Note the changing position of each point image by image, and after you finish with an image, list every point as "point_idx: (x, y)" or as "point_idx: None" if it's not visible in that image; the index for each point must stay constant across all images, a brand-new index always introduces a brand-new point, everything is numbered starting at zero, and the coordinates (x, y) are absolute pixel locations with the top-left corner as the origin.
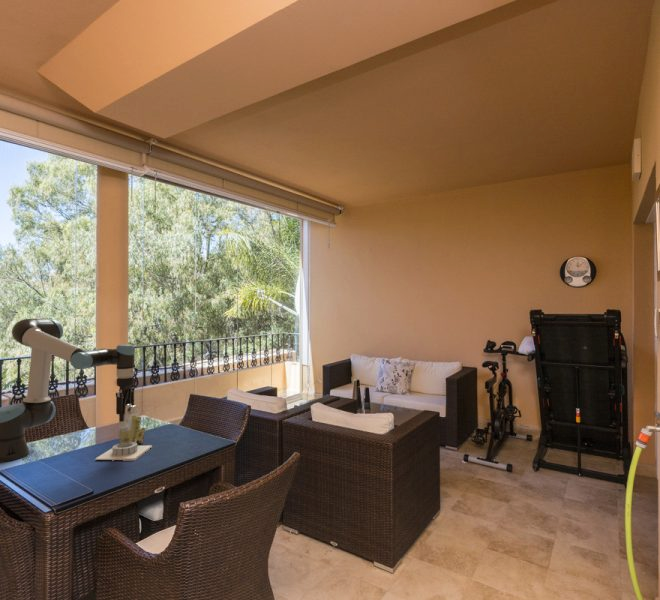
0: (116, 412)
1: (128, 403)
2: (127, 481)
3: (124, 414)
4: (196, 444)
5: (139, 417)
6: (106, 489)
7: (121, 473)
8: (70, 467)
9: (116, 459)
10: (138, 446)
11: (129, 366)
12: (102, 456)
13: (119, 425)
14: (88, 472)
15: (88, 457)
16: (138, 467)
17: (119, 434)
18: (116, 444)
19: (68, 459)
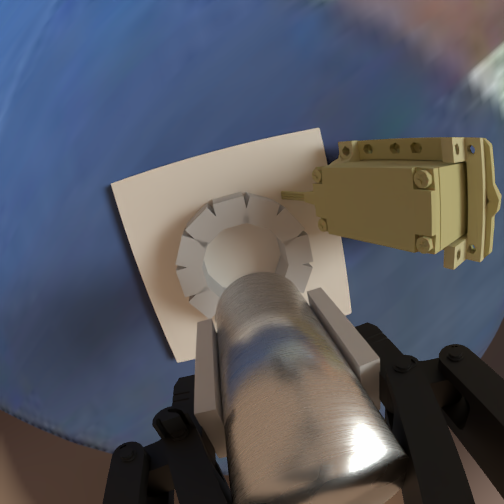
0: (113, 461)
1: (396, 481)
2: (51, 427)
3: (217, 451)
4: (384, 418)
5: (478, 259)
6: (2, 406)
7: (70, 387)
8: (29, 146)
9: (147, 287)
10: (330, 261)
11: None
12: (146, 193)
13: (196, 338)
14: (21, 273)
15: (147, 103)
16: (131, 406)
17: (325, 170)
18: (249, 200)
19: (106, 38)
